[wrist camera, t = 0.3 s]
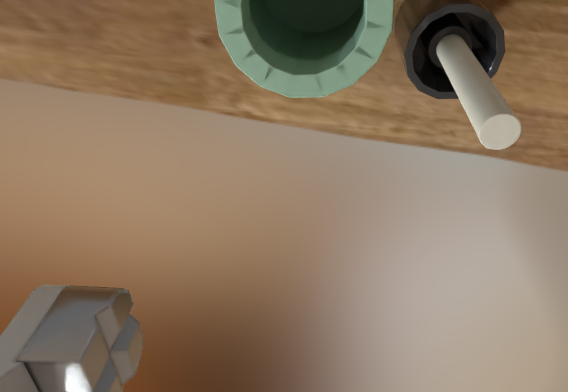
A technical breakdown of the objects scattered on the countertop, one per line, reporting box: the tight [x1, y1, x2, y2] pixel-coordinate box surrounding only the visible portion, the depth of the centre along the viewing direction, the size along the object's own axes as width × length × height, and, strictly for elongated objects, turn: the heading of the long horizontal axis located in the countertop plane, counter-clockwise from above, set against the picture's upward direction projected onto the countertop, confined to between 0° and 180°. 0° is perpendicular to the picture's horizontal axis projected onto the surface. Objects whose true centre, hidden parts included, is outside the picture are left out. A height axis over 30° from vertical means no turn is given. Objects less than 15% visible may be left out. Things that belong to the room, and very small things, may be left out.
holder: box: [395, 0, 505, 99], centre depth 34 cm, size 6×6×7 cm
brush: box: [419, 13, 521, 150], centre depth 29 cm, size 3×3×17 cm
